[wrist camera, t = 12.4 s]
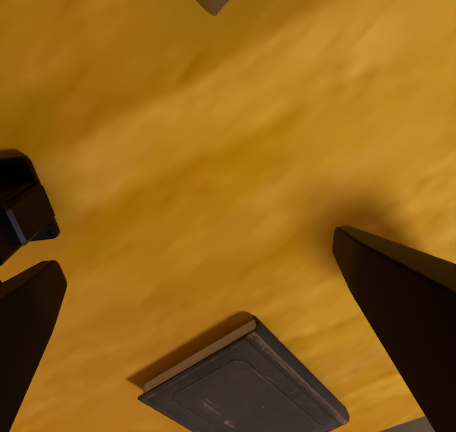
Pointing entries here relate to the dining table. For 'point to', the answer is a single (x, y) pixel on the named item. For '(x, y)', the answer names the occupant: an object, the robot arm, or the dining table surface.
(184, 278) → the dining table surface
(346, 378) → the dining table surface
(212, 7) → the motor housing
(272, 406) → the hardcover book
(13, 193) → the robot arm
